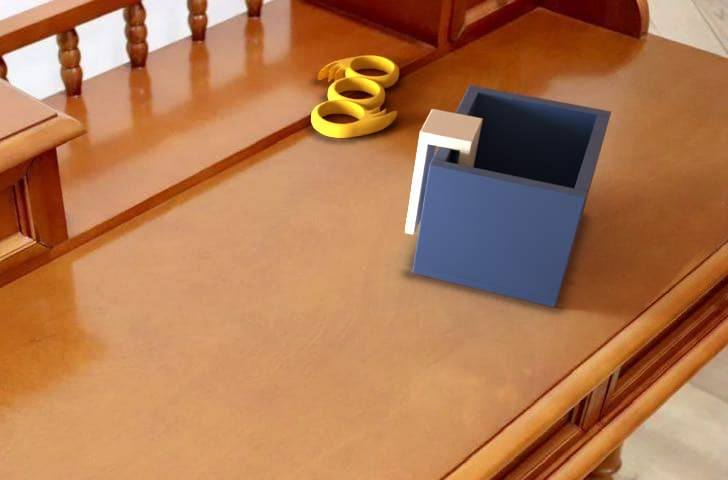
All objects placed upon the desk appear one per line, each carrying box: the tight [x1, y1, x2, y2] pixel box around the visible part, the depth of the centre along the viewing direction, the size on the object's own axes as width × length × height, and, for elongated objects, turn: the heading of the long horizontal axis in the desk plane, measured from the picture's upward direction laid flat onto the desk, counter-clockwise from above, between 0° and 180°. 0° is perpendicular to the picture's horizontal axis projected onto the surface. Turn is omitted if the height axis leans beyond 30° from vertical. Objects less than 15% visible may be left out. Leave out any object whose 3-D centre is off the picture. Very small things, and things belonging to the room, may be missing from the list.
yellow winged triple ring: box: [310, 54, 400, 139], centre depth 115 cm, size 17×2×10 cm
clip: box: [404, 108, 483, 236], centre depth 92 cm, size 4×4×10 cm
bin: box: [412, 84, 612, 308], centre depth 93 cm, size 14×12×11 cm
